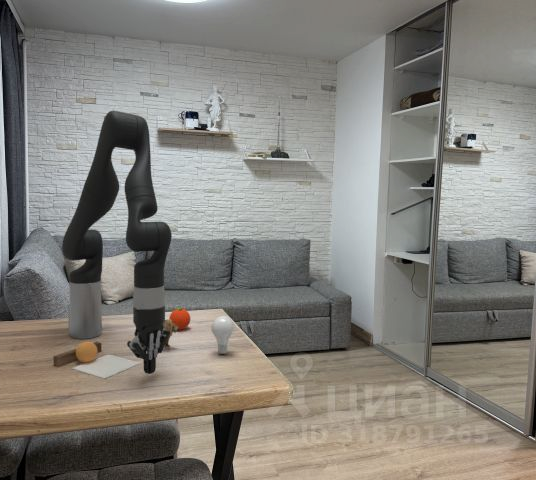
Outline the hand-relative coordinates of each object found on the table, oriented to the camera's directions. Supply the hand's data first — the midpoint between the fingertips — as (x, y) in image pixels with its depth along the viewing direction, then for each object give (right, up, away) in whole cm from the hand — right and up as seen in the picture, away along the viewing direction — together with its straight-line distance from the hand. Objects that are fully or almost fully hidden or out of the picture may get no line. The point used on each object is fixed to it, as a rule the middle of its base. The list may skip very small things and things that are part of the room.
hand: (149, 372), depth 117 cm
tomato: (-1, +3, +42) cm, 42 cm away
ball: (-19, +3, +10) cm, 22 cm away
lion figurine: (-2, +1, +25) cm, 26 cm away
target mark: (-13, 0, +7) cm, 15 cm away
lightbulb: (+16, 0, +18) cm, 25 cm away
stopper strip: (-23, 0, +13) cm, 26 cm away
